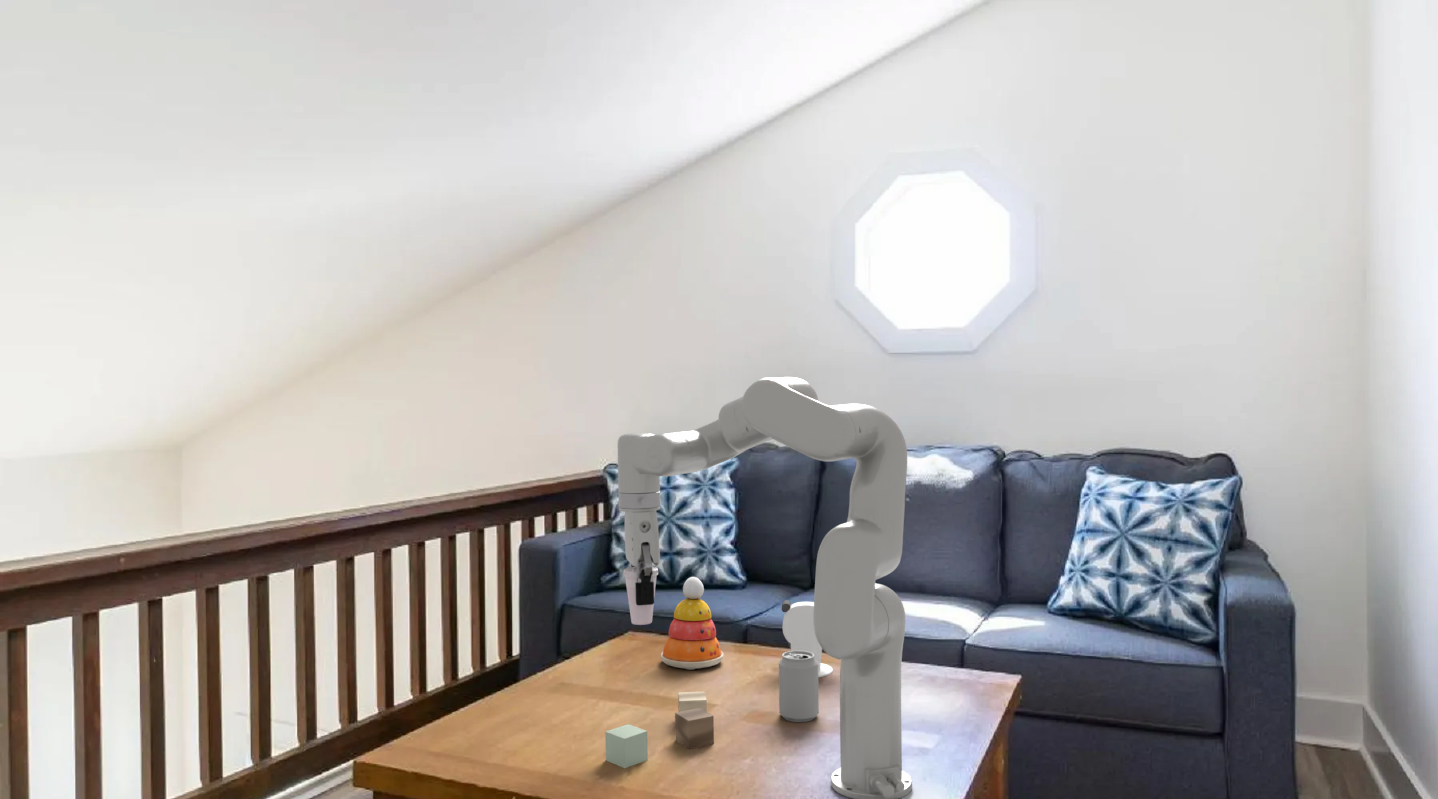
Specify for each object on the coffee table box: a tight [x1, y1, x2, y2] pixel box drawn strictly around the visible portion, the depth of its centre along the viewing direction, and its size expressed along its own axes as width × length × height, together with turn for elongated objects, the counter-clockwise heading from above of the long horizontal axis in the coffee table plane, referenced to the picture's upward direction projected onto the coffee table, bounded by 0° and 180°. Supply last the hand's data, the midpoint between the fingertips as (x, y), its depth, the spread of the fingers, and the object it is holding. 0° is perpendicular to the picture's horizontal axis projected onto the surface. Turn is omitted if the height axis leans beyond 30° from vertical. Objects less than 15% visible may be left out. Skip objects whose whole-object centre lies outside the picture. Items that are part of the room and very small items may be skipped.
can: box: [778, 650, 820, 723], centre depth 191 cm, size 8×8×12 cm
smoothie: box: [622, 559, 659, 626], centre depth 183 cm, size 6×6×14 cm
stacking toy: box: [660, 576, 725, 671], centre depth 228 cm, size 14×14×20 cm
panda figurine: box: [781, 599, 834, 678], centre depth 221 cm, size 12×11×15 cm
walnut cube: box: [674, 708, 715, 750], centre depth 179 cm, size 5×5×5 cm
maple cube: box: [677, 691, 708, 712], centre depth 189 cm, size 5×5×5 cm
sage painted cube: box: [604, 723, 649, 769], centre depth 171 cm, size 5×5×5 cm
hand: (641, 599), depth 183 cm, fingers closed on smoothie, 6 cm apart
